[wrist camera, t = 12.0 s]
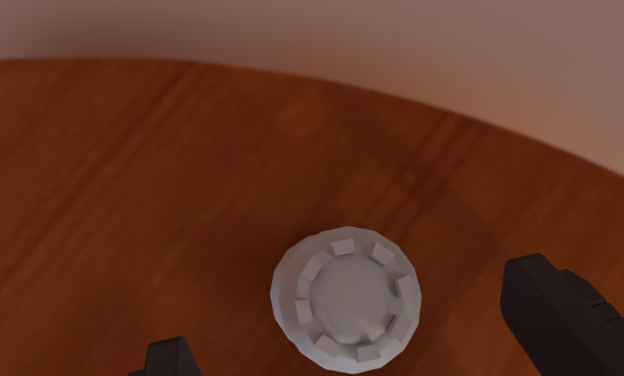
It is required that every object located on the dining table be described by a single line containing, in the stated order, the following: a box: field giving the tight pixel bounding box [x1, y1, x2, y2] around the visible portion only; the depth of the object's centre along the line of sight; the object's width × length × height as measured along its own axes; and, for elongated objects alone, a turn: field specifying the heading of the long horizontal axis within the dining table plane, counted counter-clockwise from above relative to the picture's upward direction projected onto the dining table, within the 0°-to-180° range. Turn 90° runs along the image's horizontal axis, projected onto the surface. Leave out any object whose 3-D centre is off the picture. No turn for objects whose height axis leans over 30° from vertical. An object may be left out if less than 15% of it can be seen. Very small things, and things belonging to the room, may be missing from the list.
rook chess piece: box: [270, 226, 422, 374], centre depth 13 cm, size 4×4×8 cm
